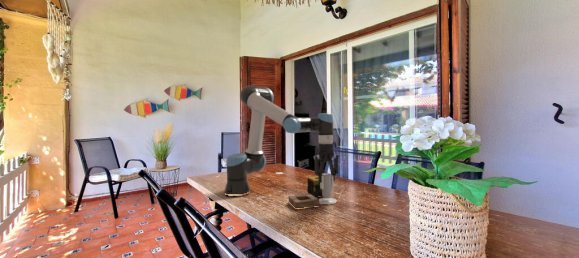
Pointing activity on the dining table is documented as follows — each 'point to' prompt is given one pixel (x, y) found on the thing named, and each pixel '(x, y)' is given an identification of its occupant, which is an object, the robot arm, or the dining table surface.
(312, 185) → the candle
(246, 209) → the dining table surface
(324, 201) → the white round domed part
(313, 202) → the socket block
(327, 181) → the beverage can
